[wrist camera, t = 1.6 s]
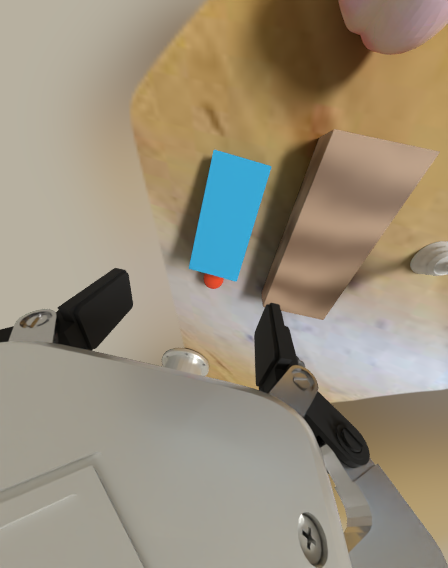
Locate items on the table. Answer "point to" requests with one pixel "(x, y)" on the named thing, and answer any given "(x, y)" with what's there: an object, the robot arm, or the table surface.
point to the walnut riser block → (340, 217)
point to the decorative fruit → (394, 22)
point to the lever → (227, 216)
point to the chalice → (431, 260)
